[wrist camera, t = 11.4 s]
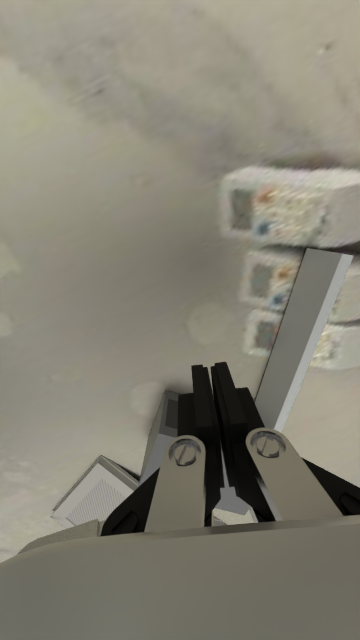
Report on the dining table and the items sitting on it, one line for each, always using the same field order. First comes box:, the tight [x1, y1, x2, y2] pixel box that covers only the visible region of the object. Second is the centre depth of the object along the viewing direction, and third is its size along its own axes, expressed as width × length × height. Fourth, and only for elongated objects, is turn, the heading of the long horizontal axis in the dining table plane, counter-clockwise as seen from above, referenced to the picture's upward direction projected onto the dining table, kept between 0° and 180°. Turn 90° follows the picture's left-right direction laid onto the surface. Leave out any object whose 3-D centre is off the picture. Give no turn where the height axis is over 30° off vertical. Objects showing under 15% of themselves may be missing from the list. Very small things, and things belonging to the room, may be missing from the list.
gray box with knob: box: [138, 390, 249, 515], centre depth 27 cm, size 14×8×7 cm, turn 72°
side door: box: [255, 248, 353, 433], centre depth 23 cm, size 20×2×6 cm, turn 171°
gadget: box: [51, 455, 226, 529], centre depth 36 cm, size 23×15×4 cm, turn 53°
